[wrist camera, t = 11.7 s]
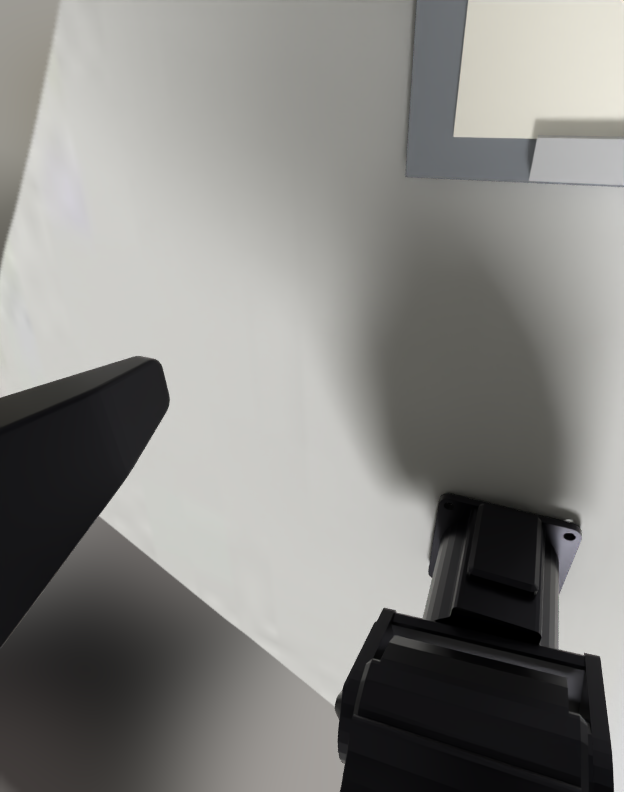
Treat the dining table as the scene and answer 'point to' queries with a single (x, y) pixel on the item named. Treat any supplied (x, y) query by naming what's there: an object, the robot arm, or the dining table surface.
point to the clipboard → (518, 91)
